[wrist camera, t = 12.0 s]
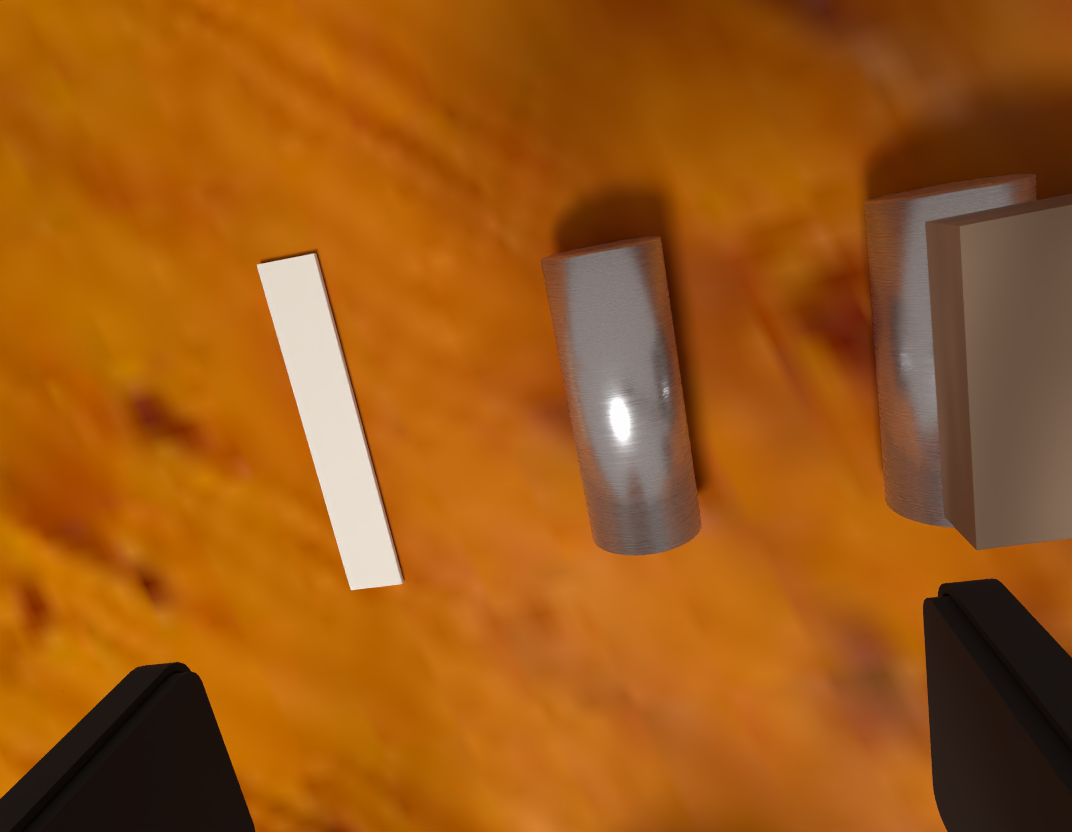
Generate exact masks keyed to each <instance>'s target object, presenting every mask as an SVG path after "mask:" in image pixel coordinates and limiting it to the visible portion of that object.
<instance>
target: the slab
mask: <svg viewBox="0 0 1072 832" xmlns="http://www.w3.org/2000/svg"><path fill="white" fill-rule="evenodd" d="M925 229H926V244H927V260H928V275H929V291H930V306H931V322H932V337H933V353H934V368H935V384H936V399H937V414H938V430H939V445H940V461H941V476H942V492H943V507H944V517H945V518H946V519H947V520H948V521H949V522H950V523H951V524H952V525H953V526H954V527H955V528H956V529H957V530H958V531H959V532H960V533H961V534H962V535H963V536H964V538H965V539H966V540H967V541H968V542H969V543H970V544H971V545H972V546H973V547H974V548H975V549H976V550H982V549H990V548H997V547H1005V546H1013V545H1021V544H1029V543H1037V542H1045V541H1053V540H1061V539H1069V538H1072V193H1070V194H1065V195H1060V196H1055V197H1050V198H1045V199H1039V200H1034V201H1029V202H1024V203H1019V204H1014V205H1009V206H1004V207H998V208H993V209H988V210H983V211H978V212H973V213H968V214H963V215H958V216H952V217H947V218H942V219H937V220H932V221H927V222H925Z"/></svg>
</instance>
